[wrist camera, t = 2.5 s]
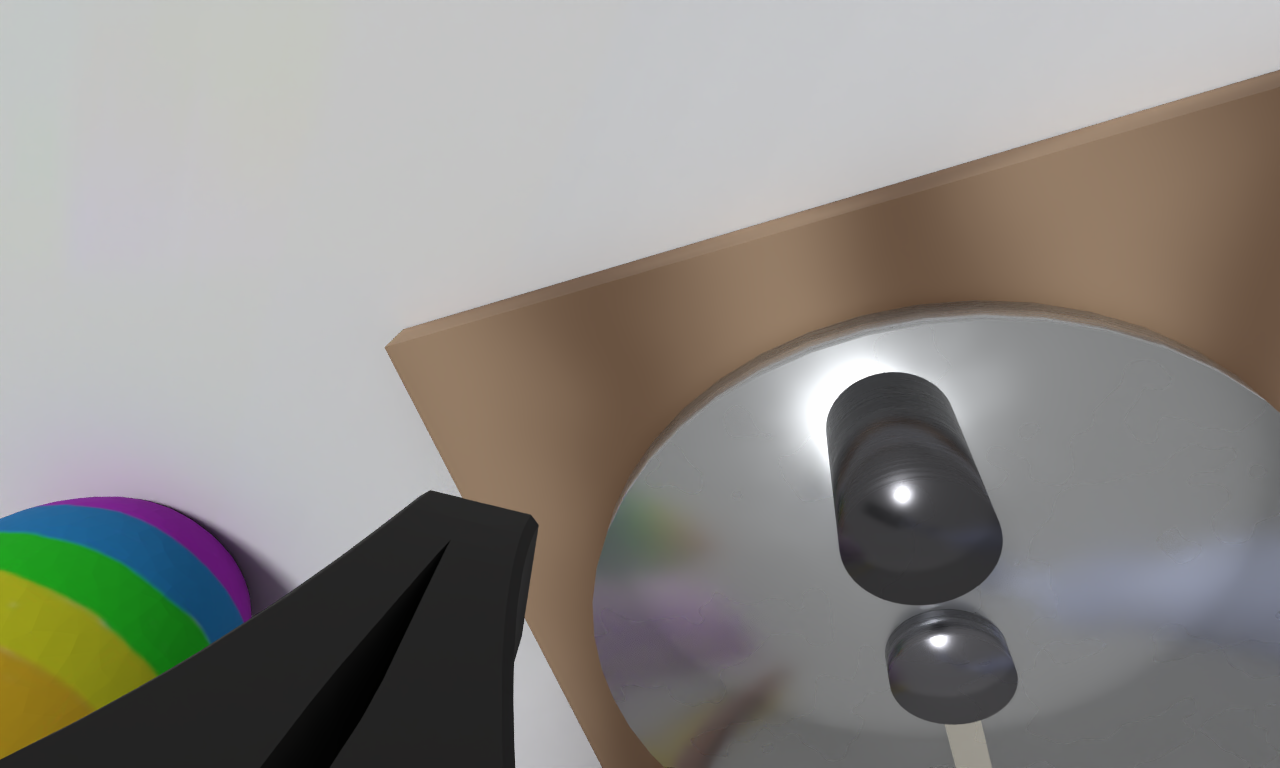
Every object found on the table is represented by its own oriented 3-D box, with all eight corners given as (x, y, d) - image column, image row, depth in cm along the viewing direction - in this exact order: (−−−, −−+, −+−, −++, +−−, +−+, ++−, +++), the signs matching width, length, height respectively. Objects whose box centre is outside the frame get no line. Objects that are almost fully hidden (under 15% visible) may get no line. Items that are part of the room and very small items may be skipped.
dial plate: (1444, 20, 13) (1736, 42, 9) (1396, 816, 21) (1542, 1013, 17) (402, 329, 19) (303, 426, 15) (673, 866, 26) (655, 1024, 22)
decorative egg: (260, 709, 26) (-4, 1090, 17) (19, 600, 25) (-386, 939, 16) (325, 540, 22) (27, 918, 13) (43, 406, 21) (-469, 711, 13)
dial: (1345, 192, 13) (1594, 288, 9) (1335, 823, 20) (1481, 1043, 16) (497, 408, 18) (416, 536, 14) (713, 865, 24) (701, 1046, 20)
